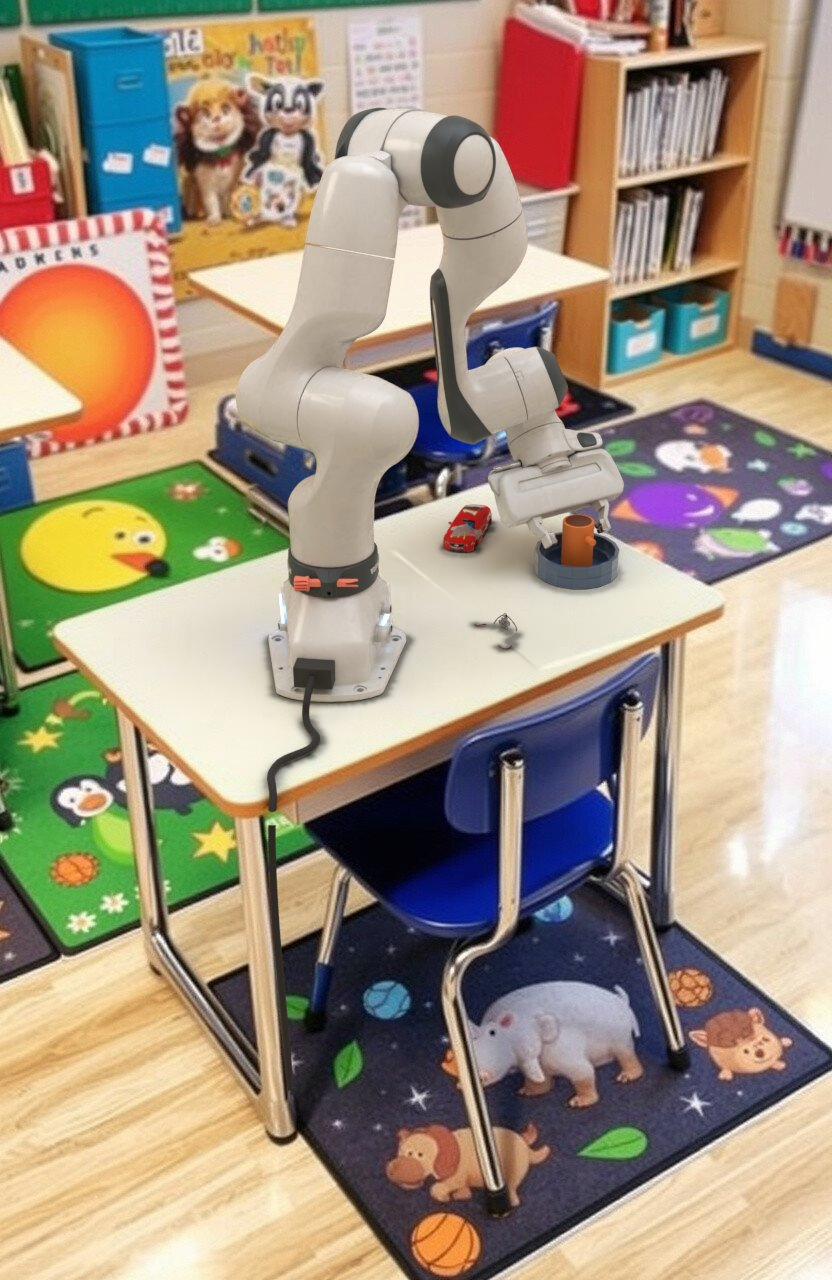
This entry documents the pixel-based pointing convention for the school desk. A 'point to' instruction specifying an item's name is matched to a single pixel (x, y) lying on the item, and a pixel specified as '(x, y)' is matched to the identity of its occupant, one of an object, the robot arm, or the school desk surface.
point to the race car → (468, 528)
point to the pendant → (503, 624)
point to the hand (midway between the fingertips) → (578, 538)
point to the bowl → (578, 577)
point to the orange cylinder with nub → (577, 541)
